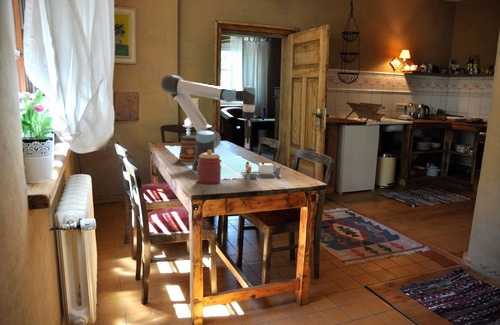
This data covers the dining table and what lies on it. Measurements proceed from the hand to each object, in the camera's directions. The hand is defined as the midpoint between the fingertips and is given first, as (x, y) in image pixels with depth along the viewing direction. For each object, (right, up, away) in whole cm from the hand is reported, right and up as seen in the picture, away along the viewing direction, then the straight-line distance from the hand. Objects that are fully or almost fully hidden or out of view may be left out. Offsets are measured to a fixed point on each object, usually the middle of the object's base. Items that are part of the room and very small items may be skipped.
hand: (247, 148), depth 249 cm
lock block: (+11, -16, -15) cm, 25 cm away
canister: (-21, -20, -39) cm, 49 cm away
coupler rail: (+8, -17, -19) cm, 27 cm away
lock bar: (+1, -14, -8) cm, 16 cm away
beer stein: (-38, -8, +20) cm, 44 cm away
